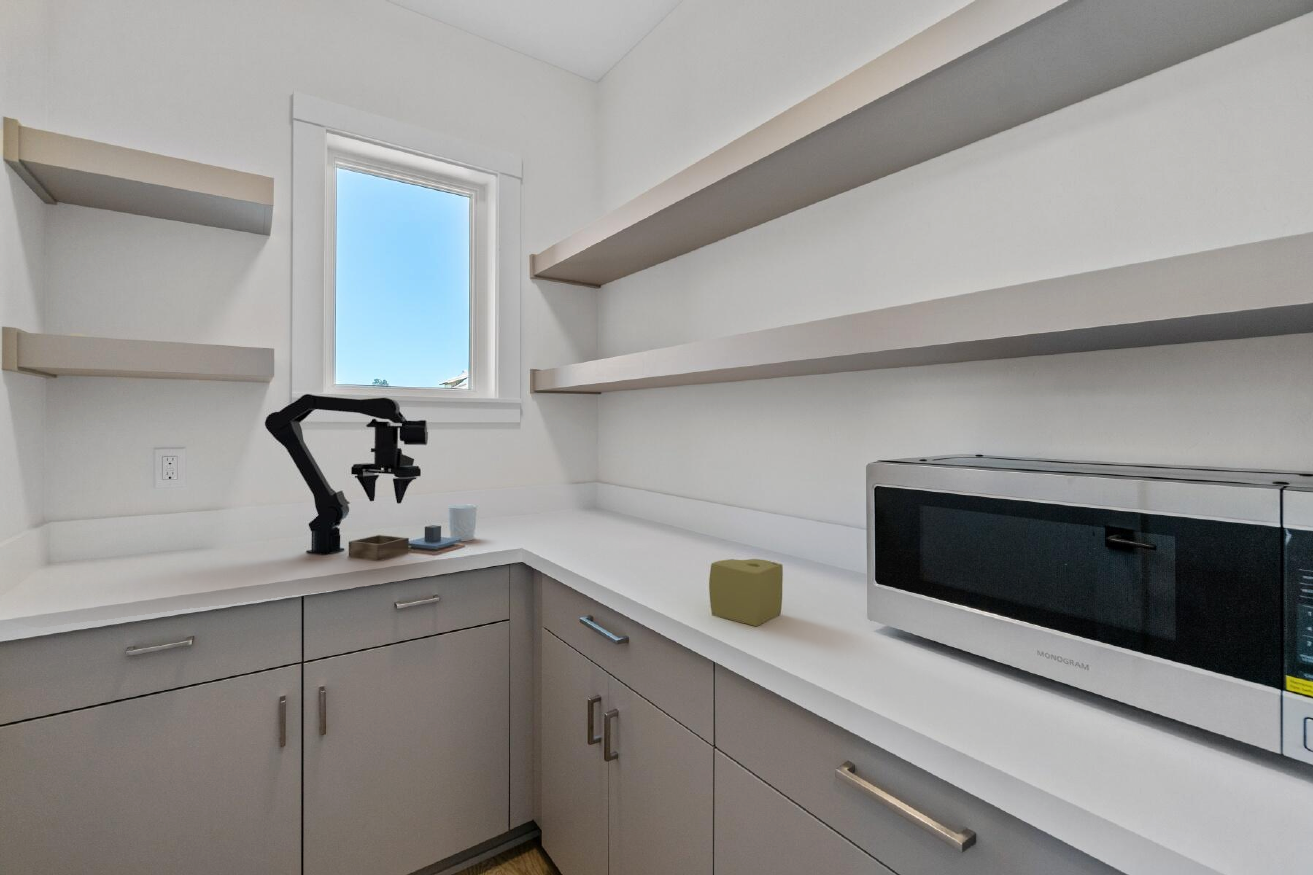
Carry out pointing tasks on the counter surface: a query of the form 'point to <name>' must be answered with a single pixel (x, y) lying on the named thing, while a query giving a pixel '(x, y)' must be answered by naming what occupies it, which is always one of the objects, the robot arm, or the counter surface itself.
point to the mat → (436, 552)
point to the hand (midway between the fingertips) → (385, 502)
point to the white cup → (462, 521)
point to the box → (378, 547)
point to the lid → (433, 539)
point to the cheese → (746, 590)
